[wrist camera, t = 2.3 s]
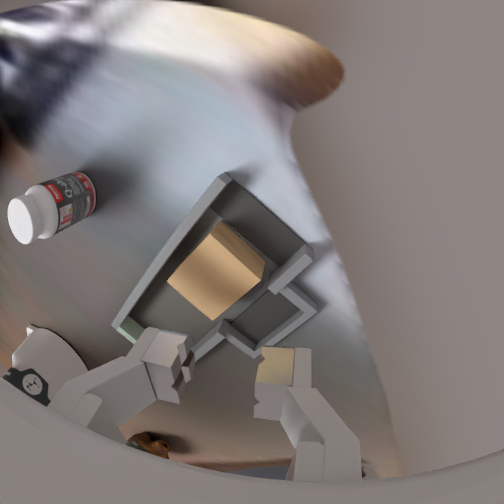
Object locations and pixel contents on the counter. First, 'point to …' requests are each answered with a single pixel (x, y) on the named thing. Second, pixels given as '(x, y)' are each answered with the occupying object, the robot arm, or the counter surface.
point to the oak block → (218, 271)
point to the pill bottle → (51, 207)
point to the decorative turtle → (149, 445)
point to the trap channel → (280, 286)
